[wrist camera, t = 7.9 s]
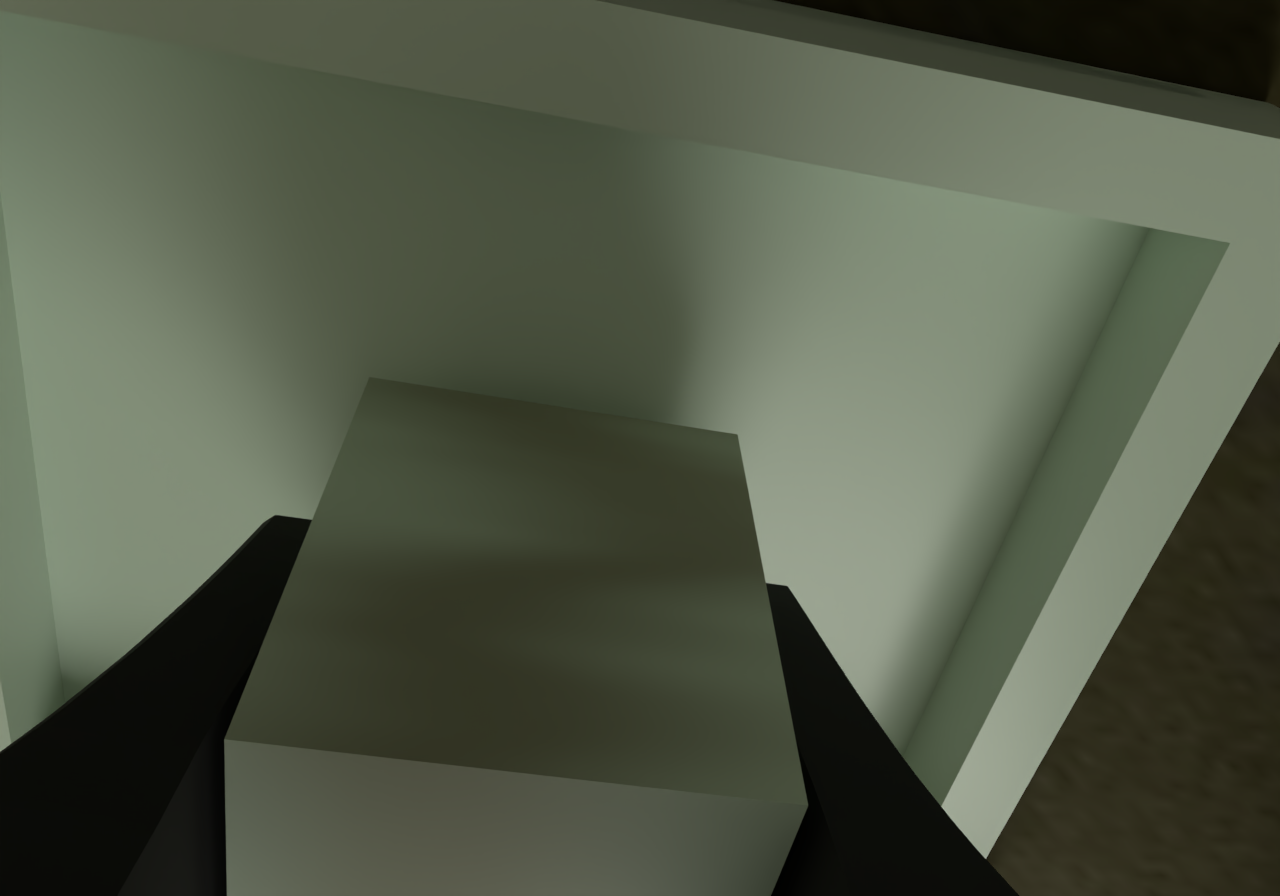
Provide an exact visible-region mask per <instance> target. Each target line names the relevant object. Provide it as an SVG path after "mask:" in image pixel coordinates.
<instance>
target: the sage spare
mask: <svg viewBox="0 0 1280 896" xmlns="http://www.w3.org/2000/svg"><path fill="white" fill-rule="evenodd" d="M224 755H225V815H226V874H227V896H771V894H772V892H773V889H774V887H775V885H776V882H777V880H778V877H779V875H780V873H781V870H782V868H783V865H784V863H785V861H786V858H787V856H788V853H789V851H790V848H791V846H792V844H793V841H794V839H795V836H796V834H797V832H798V829H799V827H800V824H801V822H802V819H803V817H804V815H805V812H806V810H807V807H808V802H807V796H806V791H805V786H804V781H803V775H802V770H801V765H800V760H799V754H798V749H797V744H796V739H795V733H794V728H793V723H792V718H791V712H790V707H789V702H788V697H787V691H786V686H785V681H784V676H783V670H782V665H781V660H780V655H779V649H778V644H777V639H776V634H775V628H774V623H773V618H772V613H771V607H770V602H769V597H768V592H767V586H766V581H765V576H764V571H763V565H762V560H761V555H760V550H759V544H758V539H757V534H756V529H755V524H754V518H753V513H752V508H751V503H750V497H749V492H748V487H747V482H746V476H745V471H744V466H743V461H742V455H741V450H740V445H739V440H738V434H732V433H726V432H719V431H713V430H707V429H700V428H694V427H687V426H681V425H674V424H668V423H662V422H655V421H649V420H642V419H636V418H629V417H623V416H617V415H610V414H604V413H597V412H591V411H584V410H578V409H572V408H565V407H559V406H552V405H546V404H539V403H533V402H527V401H520V400H514V399H507V398H501V397H495V396H488V395H482V394H475V393H469V392H462V391H456V390H450V389H443V388H437V387H430V386H424V385H417V384H411V383H405V382H398V381H392V380H385V379H379V378H372V377H369V379H368V382H367V384H366V387H365V389H364V392H363V394H362V397H361V399H360V402H359V404H358V407H357V409H356V412H355V414H354V417H353V419H352V422H351V424H350V427H349V429H348V432H347V434H346V437H345V439H344V442H343V444H342V447H341V449H340V452H339V454H338V457H337V459H336V462H335V464H334V467H333V469H332V472H331V474H330V477H329V479H328V482H327V484H326V487H325V489H324V492H323V494H322V497H321V499H320V502H319V504H318V507H317V509H316V512H315V514H314V517H313V519H312V522H311V524H310V527H309V529H308V532H307V534H306V537H305V539H304V542H303V544H302V546H301V549H300V551H299V554H298V556H297V559H296V561H295V564H294V566H293V569H292V571H291V574H290V576H289V579H288V581H287V584H286V586H285V589H284V591H283V594H282V596H281V599H280V601H279V604H278V606H277V609H276V611H275V614H274V616H273V619H272V621H271V624H270V626H269V629H268V631H267V634H266V636H265V639H264V641H263V644H262V646H261V649H260V651H259V654H258V656H257V659H256V661H255V664H254V666H253V669H252V671H251V674H250V676H249V679H248V681H247V684H246V686H245V689H244V691H243V694H242V696H241V699H240V701H239V704H238V706H237V709H236V711H235V714H234V716H233V719H232V721H231V724H230V726H229V729H228V731H227V734H226V736H225V739H224Z"/></svg>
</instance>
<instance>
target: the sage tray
mask: <svg viewBox="0 0 1280 896" xmlns="http://www.w3.org/2000/svg"><path fill="white" fill-rule="evenodd" d="M1279 342H1280V108H1278V107H1276V106H1274V105H1272V104H1270V103H1267V102H1262V101H1257V100H1252V99H1248V98H1243V97H1238V96H1233V95H1228V94H1223V93H1219V92H1214V91H1209V90H1204V89H1199V88H1194V87H1190V86H1185V85H1180V84H1175V83H1170V82H1165V81H1161V80H1156V79H1151V78H1146V77H1141V76H1137V75H1132V74H1127V73H1122V72H1117V71H1112V70H1108V69H1103V68H1098V67H1093V66H1088V65H1083V64H1079V63H1074V62H1069V61H1064V60H1059V59H1054V58H1050V57H1045V56H1040V55H1035V54H1030V53H1025V52H1021V51H1016V50H1011V49H1006V48H1001V47H996V46H992V45H987V44H982V43H977V42H972V41H967V40H963V39H958V38H953V37H948V36H943V35H938V34H934V33H929V32H924V31H919V30H914V29H909V28H905V27H900V26H895V25H890V24H885V23H880V22H876V21H871V20H866V19H861V18H856V17H852V16H847V15H842V14H837V13H832V12H827V11H823V10H818V9H813V8H808V7H803V6H798V5H794V4H789V3H784V2H779V1H774V0H0V751H2V750H3V749H5V748H6V747H7V746H9V745H10V744H11V743H13V742H14V741H16V740H17V739H18V738H20V737H21V736H23V735H24V734H25V733H27V732H28V731H29V730H31V729H32V728H33V727H35V726H36V725H37V724H39V723H40V722H41V721H43V720H44V719H45V718H47V717H48V716H49V715H51V714H52V713H53V712H54V711H56V710H57V709H58V708H60V707H61V706H62V705H63V704H65V703H66V702H67V701H68V700H69V699H71V698H72V697H73V696H74V695H76V694H77V693H78V692H79V691H81V690H82V689H83V688H84V687H86V686H87V685H88V684H89V683H90V682H92V681H93V680H94V679H95V678H97V677H98V676H99V675H100V674H102V673H103V672H104V671H105V670H107V669H108V668H109V667H110V666H111V665H113V664H114V663H115V662H116V661H118V660H119V659H120V658H121V657H123V656H124V655H125V654H126V653H127V652H128V651H130V650H131V649H132V648H133V647H134V646H135V645H136V644H138V643H139V642H140V641H141V640H142V639H143V638H144V637H145V636H146V635H148V634H149V633H150V632H151V631H152V630H153V629H154V628H155V627H156V626H158V625H159V624H160V623H161V622H162V621H163V620H164V619H165V618H166V617H168V616H169V615H170V614H171V613H172V612H173V611H174V610H175V609H176V608H178V607H179V606H180V605H181V604H182V603H183V602H184V601H185V600H186V599H187V598H189V597H190V596H191V595H192V594H193V593H194V592H195V591H196V590H197V589H198V588H199V587H200V586H201V585H202V584H203V583H204V582H205V581H206V580H207V579H208V578H209V577H210V576H211V575H212V574H213V573H215V572H216V571H217V570H218V569H219V568H220V567H221V566H222V565H223V564H224V563H225V562H226V561H227V560H228V559H229V558H230V557H231V556H232V555H233V554H234V553H235V552H236V550H237V549H238V548H239V547H240V546H241V545H242V544H243V543H244V542H245V541H246V540H247V539H248V538H249V537H250V536H251V535H252V534H253V533H254V532H255V531H256V530H257V529H258V528H259V527H260V525H261V524H262V523H263V522H265V521H266V520H268V519H269V518H271V517H273V516H274V515H281V516H288V517H295V518H302V519H310V520H312V519H313V517H314V514H315V512H316V509H317V507H318V504H319V502H320V499H321V497H322V494H323V492H324V489H325V487H326V484H327V482H328V479H329V477H330V474H331V472H332V469H333V467H334V464H335V462H336V459H337V457H338V454H339V452H340V449H341V447H342V444H343V442H344V439H345V437H346V434H347V432H348V429H349V427H350V424H351V422H352V419H353V417H354V414H355V412H356V409H357V407H358V404H359V402H360V399H361V397H362V394H363V392H364V389H365V387H366V384H367V382H368V379H369V377H372V378H379V379H385V380H392V381H398V382H405V383H411V384H417V385H424V386H430V387H437V388H443V389H450V390H456V391H462V392H469V393H475V394H482V395H488V396H495V397H501V398H507V399H514V400H520V401H527V402H533V403H539V404H546V405H552V406H559V407H565V408H572V409H578V410H584V411H591V412H597V413H604V414H610V415H617V416H623V417H629V418H636V419H642V420H649V421H655V422H662V423H668V424H674V425H681V426H687V427H694V428H700V429H707V430H713V431H719V432H726V433H732V434H738V440H739V445H740V450H741V455H742V461H743V466H744V471H745V476H746V482H747V487H748V492H749V497H750V503H751V508H752V513H753V518H754V524H755V529H756V534H757V539H758V544H759V550H760V555H761V560H762V565H763V571H764V576H765V581H766V583H770V584H777V585H785V586H788V587H789V589H790V590H791V592H792V593H793V595H794V596H795V598H796V599H797V601H798V602H799V604H800V605H801V607H802V608H803V610H804V611H805V613H806V614H807V616H808V618H809V619H810V621H811V622H812V624H813V625H814V627H815V629H816V630H817V632H818V633H819V635H820V636H821V638H822V639H823V641H824V643H825V644H826V646H827V647H828V649H829V650H830V652H831V653H832V655H833V657H834V658H835V660H836V661H837V663H838V664H839V666H840V667H841V669H842V670H843V672H844V673H845V675H846V676H847V678H848V679H849V681H850V682H851V684H852V685H853V687H854V688H855V690H856V691H857V693H858V694H859V696H860V697H861V699H862V700H863V702H864V703H865V705H866V706H867V707H868V709H869V710H870V712H871V713H872V715H873V716H874V717H875V719H876V720H877V722H878V723H879V724H880V726H881V727H882V729H883V730H884V731H885V733H886V734H887V736H888V737H889V739H890V740H891V741H892V743H893V744H894V746H895V747H896V748H897V750H898V751H899V753H900V754H901V755H902V757H903V758H904V759H905V761H906V762H907V763H908V765H909V766H910V767H911V769H912V770H913V771H914V773H915V774H916V775H917V777H918V778H919V779H920V780H921V782H922V783H923V784H924V785H925V787H926V788H927V789H928V790H929V792H930V793H931V794H932V795H933V797H934V798H935V799H936V801H937V802H938V803H939V804H940V806H941V807H942V808H943V809H944V811H945V812H946V813H947V814H948V816H949V817H950V818H951V819H952V821H953V822H954V823H955V824H956V825H957V827H958V828H959V829H960V830H961V831H962V832H963V834H964V835H965V836H966V837H967V838H968V839H969V841H970V842H971V843H972V844H973V845H974V846H975V848H976V849H977V850H978V851H979V852H980V853H981V854H982V856H983V857H984V858H985V859H986V858H987V856H988V854H989V852H990V851H991V849H992V847H993V845H994V844H995V842H996V840H997V838H998V837H999V835H1000V833H1001V831H1002V830H1003V828H1004V826H1005V824H1006V822H1007V821H1008V819H1009V817H1010V815H1011V814H1012V812H1013V810H1014V808H1015V807H1016V805H1017V803H1018V801H1019V800H1020V798H1021V796H1022V794H1023V793H1024V791H1025V789H1026V787H1027V786H1028V784H1029V782H1030V780H1031V778H1032V777H1033V775H1034V773H1035V771H1036V770H1037V768H1038V766H1039V764H1040V763H1041V761H1042V759H1043V757H1044V756H1045V754H1046V752H1047V750H1048V749H1049V747H1050V745H1051V743H1052V741H1053V740H1054V738H1055V736H1056V734H1057V733H1058V731H1059V729H1060V727H1061V726H1062V724H1063V722H1064V720H1065V719H1066V717H1067V715H1068V713H1069V712H1070V710H1071V708H1072V706H1073V705H1074V703H1075V701H1076V699H1077V697H1078V696H1079V694H1080V692H1081V690H1082V689H1083V687H1084V685H1085V683H1086V682H1087V680H1088V678H1089V676H1090V675H1091V673H1092V671H1093V669H1094V668H1095V666H1096V664H1097V662H1098V660H1099V659H1100V657H1101V655H1102V653H1103V652H1104V650H1105V648H1106V646H1107V645H1108V643H1109V641H1110V639H1111V638H1112V636H1113V634H1114V632H1115V631H1116V629H1117V627H1118V625H1119V624H1120V622H1121V620H1122V618H1123V616H1124V615H1125V613H1126V611H1127V609H1128V608H1129V606H1130V604H1131V602H1132V601H1133V599H1134V597H1135V595H1136V594H1137V592H1138V590H1139V588H1140V587H1141V585H1142V583H1143V581H1144V579H1145V578H1146V576H1147V574H1148V572H1149V571H1150V569H1151V567H1152V565H1153V564H1154V562H1155V560H1156V558H1157V557H1158V555H1159V553H1160V551H1161V550H1162V548H1163V546H1164V544H1165V543H1166V541H1167V539H1168V537H1169V535H1170V534H1171V532H1172V530H1173V528H1174V527H1175V525H1176V523H1177V521H1178V520H1179V518H1180V516H1181V514H1182V513H1183V511H1184V509H1185V507H1186V506H1187V504H1188V502H1189V500H1190V498H1191V497H1192V495H1193V493H1194V491H1195V490H1196V488H1197V486H1198V484H1199V483H1200V481H1201V479H1202V477H1203V476H1204V474H1205V472H1206V470H1207V469H1208V467H1209V465H1210V463H1211V462H1212V460H1213V458H1214V456H1215V454H1216V453H1217V451H1218V449H1219V447H1220V446H1221V444H1222V442H1223V440H1224V439H1225V437H1226V435H1227V433H1228V432H1229V430H1230V428H1231V426H1232V425H1233V423H1234V421H1235V419H1236V417H1237V416H1238V414H1239V412H1240V410H1241V409H1242V407H1243V405H1244V403H1245V402H1246V400H1247V398H1248V396H1249V395H1250V393H1251V391H1252V389H1253V388H1254V386H1255V384H1256V382H1257V381H1258V379H1259V377H1260V375H1261V373H1262V372H1263V370H1264V368H1265V366H1266V365H1267V363H1268V361H1269V359H1270V358H1271V356H1272V354H1273V352H1274V351H1275V349H1276V347H1277V345H1278V344H1279Z"/></svg>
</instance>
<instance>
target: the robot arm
mask: <svg viewBox="0 0 1280 896" xmlns="http://www.w3.org/2000/svg"><path fill="white" fill-rule="evenodd" d="M311 522H312V520H310V519H302V518H295V517H288V516H281V515H274V516H273V517H271V518H269V519H268V520H266V521H265V522H263V523H262V524H261V525H260V527H259V528H258V529H257V530H256V531H255V532H254V533H253V534H252V535H251V536H250V537H249V538H248V539H247V540H246V541H245V542H244V543H243V544H242V545H241V546H240V547H239V548H238V549H237V550H236V552H235V553H234V554H233V555H232V556H231V557H230V558H229V559H228V560H227V561H226V562H225V563H224V564H223V565H222V566H221V567H220V568H219V569H218V570H217V571H216V572H215V573H213V574H212V575H211V576H210V577H209V578H208V579H207V580H206V581H205V582H204V583H203V584H202V585H201V586H200V587H199V588H198V589H197V590H196V591H195V592H194V593H193V594H192V595H191V596H190V597H189V598H187V599H186V600H185V601H184V602H183V603H182V604H181V605H180V606H179V607H178V608H176V609H175V610H174V611H173V612H172V613H171V614H170V615H169V616H168V617H166V618H165V619H164V620H163V621H162V622H161V623H160V624H159V625H158V626H156V627H155V628H154V629H153V630H152V631H151V632H150V633H149V634H148V635H146V636H145V637H144V638H143V639H142V640H141V641H140V642H139V643H138V644H136V645H135V646H134V647H133V648H132V649H131V650H130V651H128V652H127V653H126V654H125V655H124V656H123V657H121V658H120V659H119V660H118V661H116V662H115V663H114V664H113V665H111V666H110V667H109V668H108V669H107V670H105V671H104V672H103V673H102V674H100V675H99V676H98V677H97V678H95V679H94V680H93V681H92V682H90V683H89V684H88V685H87V686H86V687H84V688H83V689H82V690H81V691H79V692H78V693H77V694H76V695H74V696H73V697H72V698H71V699H69V700H68V701H67V702H66V703H65V704H63V705H62V706H61V707H60V708H58V709H57V710H56V711H54V712H53V713H52V714H51V715H49V716H48V717H47V718H45V719H44V720H43V721H41V722H40V723H39V724H37V725H36V726H35V727H33V728H32V729H31V730H29V731H28V732H27V733H25V734H24V735H23V736H21V737H20V738H18V739H17V740H16V741H14V742H13V743H11V744H10V745H9V746H7V747H6V748H5V749H3V750H2V751H0V896H227V874H226V815H225V755H224V739H225V736H226V734H227V731H228V729H229V726H230V724H231V721H232V719H233V716H234V714H235V711H236V709H237V706H238V704H239V701H240V699H241V696H242V694H243V691H244V689H245V686H246V684H247V681H248V679H249V676H250V674H251V671H252V669H253V666H254V664H255V661H256V659H257V656H258V654H259V651H260V649H261V646H262V644H263V641H264V639H265V636H266V634H267V631H268V629H269V626H270V624H271V621H272V619H273V616H274V614H275V611H276V609H277V606H278V604H279V601H280V599H281V596H282V594H283V591H284V589H285V586H286V584H287V581H288V579H289V576H290V574H291V571H292V569H293V566H294V564H295V561H296V559H297V556H298V554H299V551H300V549H301V546H302V544H303V542H304V539H305V537H306V534H307V532H308V529H309V527H310V524H311ZM766 586H767V592H768V597H769V602H770V607H771V613H772V618H773V623H774V628H775V634H776V639H777V644H778V649H779V655H780V660H781V665H782V670H783V676H784V681H785V686H786V691H787V697H788V702H789V707H790V712H791V718H792V723H793V728H794V733H795V739H796V744H797V749H798V754H799V760H800V765H801V770H802V775H803V781H804V786H805V791H806V796H807V802H808V807H807V810H806V812H805V815H804V817H803V819H802V822H801V824H800V827H799V829H798V832H797V834H796V836H795V839H794V841H793V844H792V846H791V848H790V851H789V853H788V856H787V858H786V861H785V863H784V865H783V868H782V870H781V873H780V875H779V877H778V880H777V882H776V885H775V887H774V889H773V892H772V894H771V896H1019V895H1018V894H1017V893H1016V892H1015V890H1014V889H1013V888H1012V887H1011V886H1010V885H1009V884H1008V883H1007V882H1006V881H1005V880H1004V878H1003V877H1002V876H1001V875H1000V874H999V873H998V872H997V871H996V870H995V869H994V868H993V866H992V865H991V864H990V863H989V862H988V861H987V860H986V859H985V858H984V857H983V856H982V854H981V853H980V852H979V851H978V850H977V849H976V848H975V846H974V845H973V844H972V843H971V842H970V841H969V839H968V838H967V837H966V836H965V835H964V834H963V832H962V831H961V830H960V829H959V828H958V827H957V825H956V824H955V823H954V822H953V821H952V819H951V818H950V817H949V816H948V814H947V813H946V812H945V811H944V809H943V808H942V807H941V806H940V804H939V803H938V802H937V801H936V799H935V798H934V797H933V795H932V794H931V793H930V792H929V790H928V789H927V788H926V787H925V785H924V784H923V783H922V782H921V780H920V779H919V778H918V777H917V775H916V774H915V773H914V771H913V770H912V769H911V767H910V766H909V765H908V763H907V762H906V761H905V759H904V758H903V757H902V755H901V754H900V753H899V751H898V750H897V748H896V747H895V746H894V744H893V743H892V741H891V740H890V739H889V737H888V736H887V734H886V733H885V731H884V730H883V729H882V727H881V726H880V724H879V723H878V722H877V720H876V719H875V717H874V716H873V715H872V713H871V712H870V710H869V709H868V707H867V706H866V705H865V703H864V702H863V700H862V699H861V697H860V696H859V694H858V693H857V691H856V690H855V688H854V687H853V685H852V684H851V682H850V681H849V679H848V678H847V676H846V675H845V673H844V672H843V670H842V669H841V667H840V666H839V664H838V663H837V661H836V660H835V658H834V657H833V655H832V653H831V652H830V650H829V649H828V647H827V646H826V644H825V643H824V641H823V639H822V638H821V636H820V635H819V633H818V632H817V630H816V629H815V627H814V625H813V624H812V622H811V621H810V619H809V618H808V616H807V614H806V613H805V611H804V610H803V608H802V607H801V605H800V604H799V602H798V601H797V599H796V598H795V596H794V595H793V593H792V592H791V590H790V589H789V587H788V586H785V585H777V584H770V583H766Z"/></svg>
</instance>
